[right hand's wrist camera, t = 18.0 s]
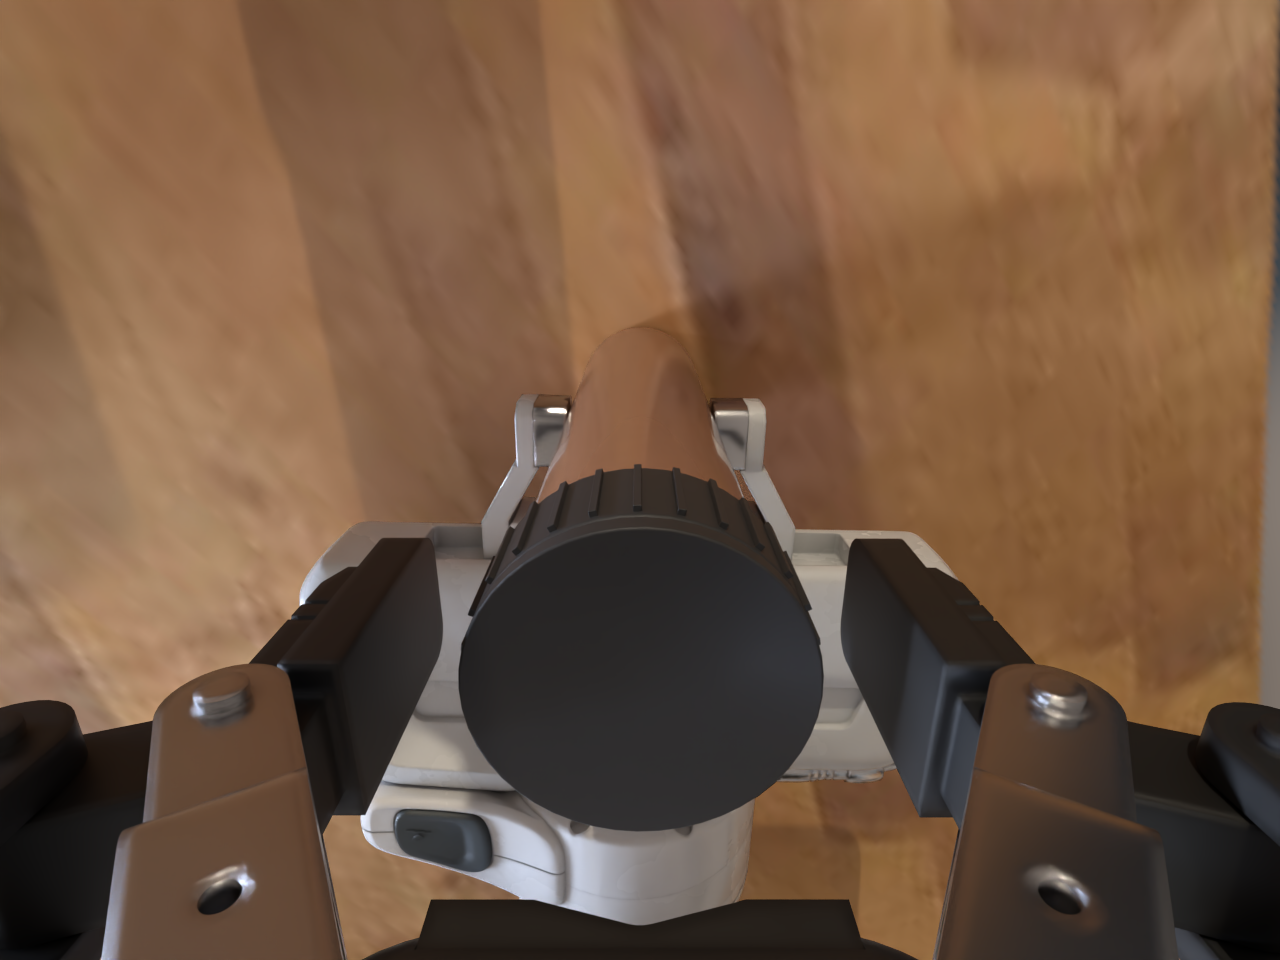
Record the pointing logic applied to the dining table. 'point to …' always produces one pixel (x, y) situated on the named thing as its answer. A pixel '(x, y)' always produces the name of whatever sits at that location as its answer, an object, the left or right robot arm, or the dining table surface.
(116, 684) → the dining table surface
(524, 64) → the dining table surface
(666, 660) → the lid
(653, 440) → the brown capped cylinder
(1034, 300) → the dining table surface
